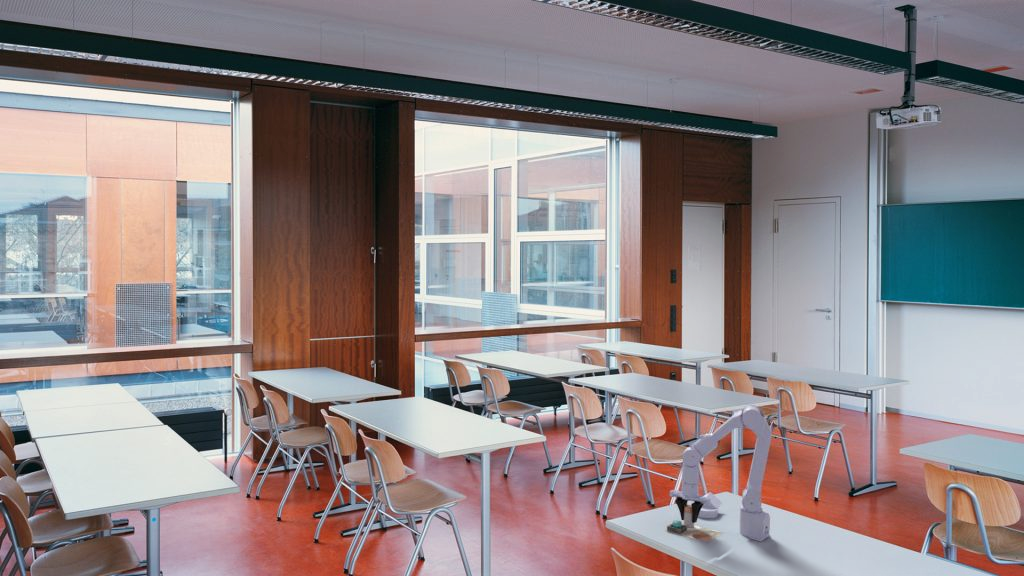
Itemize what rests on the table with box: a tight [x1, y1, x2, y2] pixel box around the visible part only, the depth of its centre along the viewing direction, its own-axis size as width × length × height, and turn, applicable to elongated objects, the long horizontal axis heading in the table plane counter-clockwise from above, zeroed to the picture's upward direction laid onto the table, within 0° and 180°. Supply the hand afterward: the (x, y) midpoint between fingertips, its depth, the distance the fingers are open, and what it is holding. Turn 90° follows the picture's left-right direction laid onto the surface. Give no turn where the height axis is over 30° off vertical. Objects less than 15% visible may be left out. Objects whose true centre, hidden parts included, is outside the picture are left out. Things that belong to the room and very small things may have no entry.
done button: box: [672, 520, 683, 529], centre depth 273 cm, size 3×3×2 cm
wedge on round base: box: [698, 491, 723, 519], centre depth 293 cm, size 9×7×13 cm
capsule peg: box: [683, 504, 695, 528], centre depth 278 cm, size 4×4×7 cm
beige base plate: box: [665, 521, 724, 543], centre depth 273 cm, size 18×14×2 cm
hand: (689, 520), depth 278 cm, fingers closed on capsule peg, 4 cm apart
